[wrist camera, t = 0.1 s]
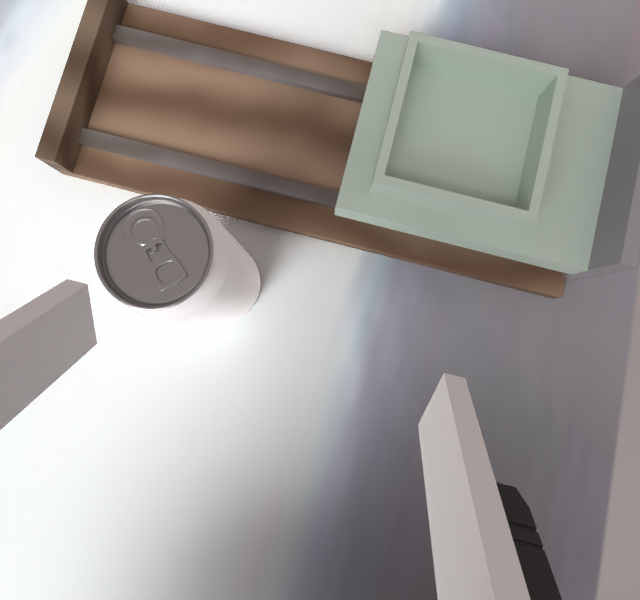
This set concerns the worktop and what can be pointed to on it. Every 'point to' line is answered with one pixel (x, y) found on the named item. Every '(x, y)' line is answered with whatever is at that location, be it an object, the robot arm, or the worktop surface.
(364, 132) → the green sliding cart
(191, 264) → the can
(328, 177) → the track
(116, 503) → the worktop surface
